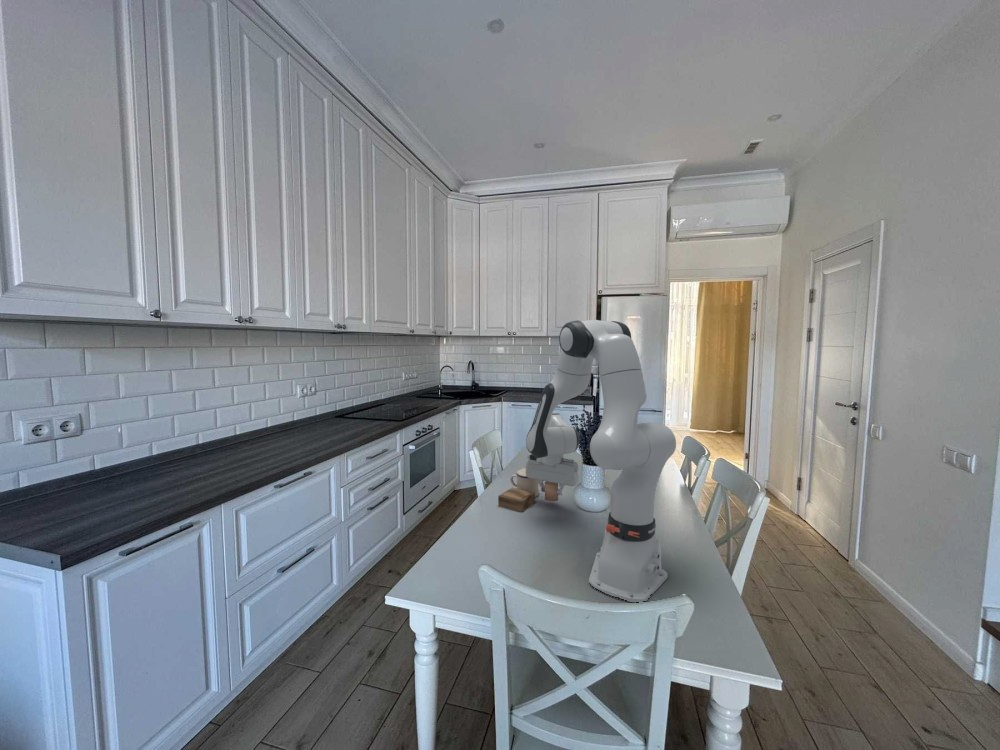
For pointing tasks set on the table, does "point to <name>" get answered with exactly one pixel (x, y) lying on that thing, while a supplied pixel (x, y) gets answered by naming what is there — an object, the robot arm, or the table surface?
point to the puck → (551, 491)
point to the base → (516, 499)
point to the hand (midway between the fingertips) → (551, 493)
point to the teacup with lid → (525, 482)
